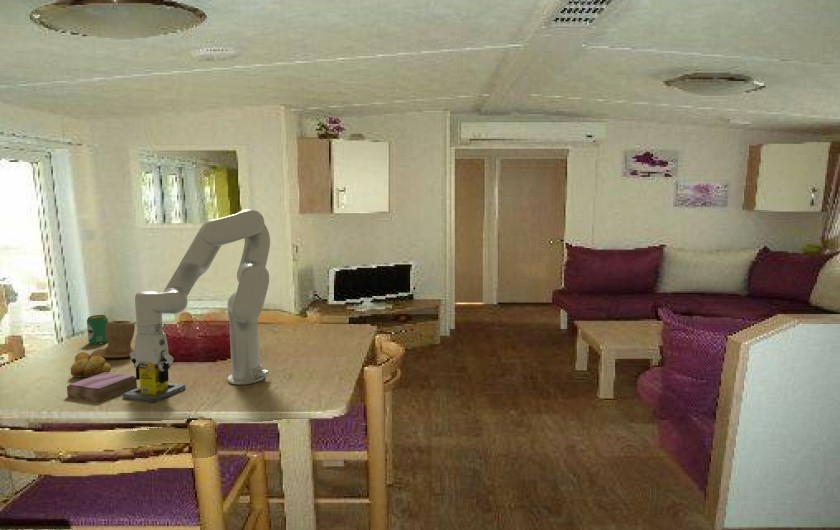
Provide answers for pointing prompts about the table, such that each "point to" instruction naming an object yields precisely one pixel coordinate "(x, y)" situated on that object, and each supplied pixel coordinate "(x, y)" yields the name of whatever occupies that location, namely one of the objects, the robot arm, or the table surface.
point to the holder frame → (137, 395)
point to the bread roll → (89, 365)
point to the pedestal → (101, 386)
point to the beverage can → (97, 329)
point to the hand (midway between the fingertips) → (152, 380)
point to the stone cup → (117, 340)
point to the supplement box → (151, 379)
